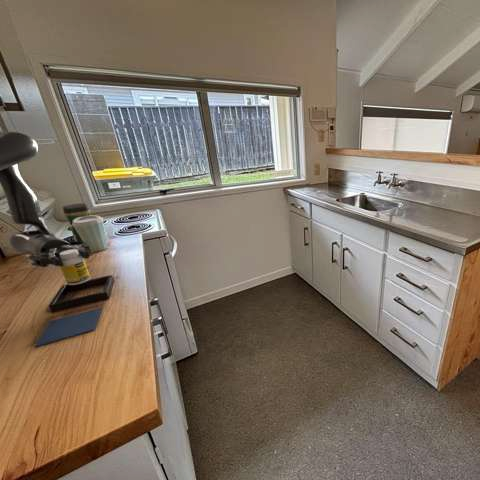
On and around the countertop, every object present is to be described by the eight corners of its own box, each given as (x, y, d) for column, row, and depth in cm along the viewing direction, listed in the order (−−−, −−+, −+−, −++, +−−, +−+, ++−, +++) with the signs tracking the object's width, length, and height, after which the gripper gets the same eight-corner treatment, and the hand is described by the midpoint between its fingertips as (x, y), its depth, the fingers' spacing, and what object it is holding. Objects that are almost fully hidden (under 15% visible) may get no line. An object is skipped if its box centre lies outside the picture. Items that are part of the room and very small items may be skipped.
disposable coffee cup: (115, 248, 118) (104, 217, 112) (84, 256, 110) (72, 222, 105) (109, 243, 124) (99, 213, 119) (80, 250, 117) (68, 218, 111)
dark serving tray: (51, 313, 72) (48, 305, 72) (65, 292, 83) (62, 285, 82) (109, 298, 79) (106, 291, 78) (114, 281, 89) (112, 274, 88)
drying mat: (34, 347, 60) (34, 346, 60) (50, 321, 69) (50, 320, 69) (94, 330, 65) (94, 329, 65) (102, 308, 74) (101, 307, 74)
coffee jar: (98, 235, 135) (86, 201, 129) (101, 239, 130) (88, 203, 124) (74, 240, 129) (60, 204, 122) (76, 244, 124) (61, 207, 117)
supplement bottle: (83, 284, 77) (71, 254, 73) (62, 286, 76) (50, 256, 72) (95, 276, 82) (84, 247, 78) (76, 277, 81) (64, 249, 77)
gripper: (14, 245, 75) (34, 256, 68) (75, 231, 87) (99, 239, 79) (24, 268, 78) (45, 281, 70) (83, 251, 90) (106, 261, 82)
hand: (74, 258), depth 75 cm, fingers closed on supplement bottle, 5 cm apart
